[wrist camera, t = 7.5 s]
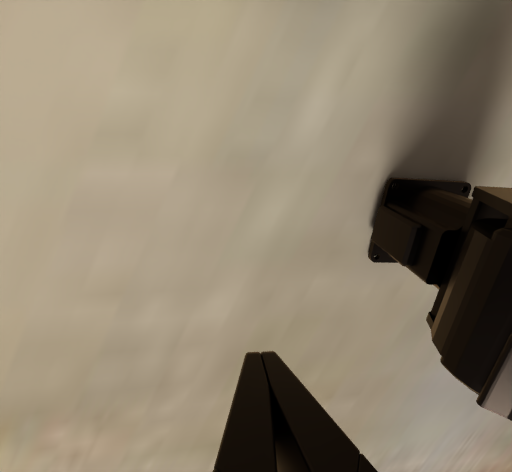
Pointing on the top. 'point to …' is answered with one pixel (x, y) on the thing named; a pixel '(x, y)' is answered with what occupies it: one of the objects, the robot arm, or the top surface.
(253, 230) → the top surface
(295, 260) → the top surface
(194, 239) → the top surface
